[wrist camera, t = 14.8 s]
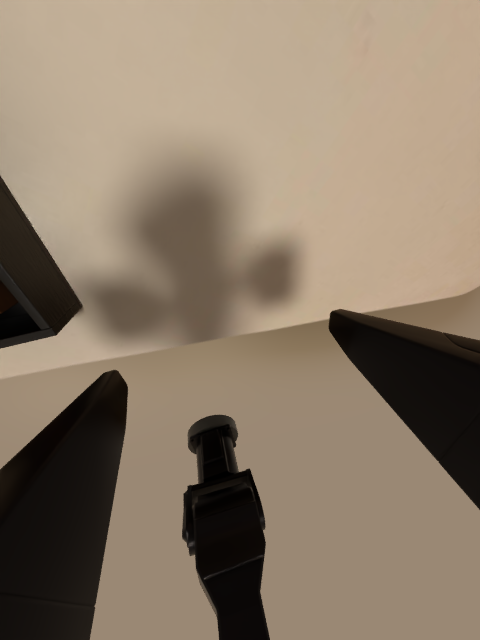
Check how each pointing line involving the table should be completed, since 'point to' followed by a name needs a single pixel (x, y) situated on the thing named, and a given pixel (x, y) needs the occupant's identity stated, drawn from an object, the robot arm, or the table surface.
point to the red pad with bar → (6, 298)
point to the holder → (30, 280)
